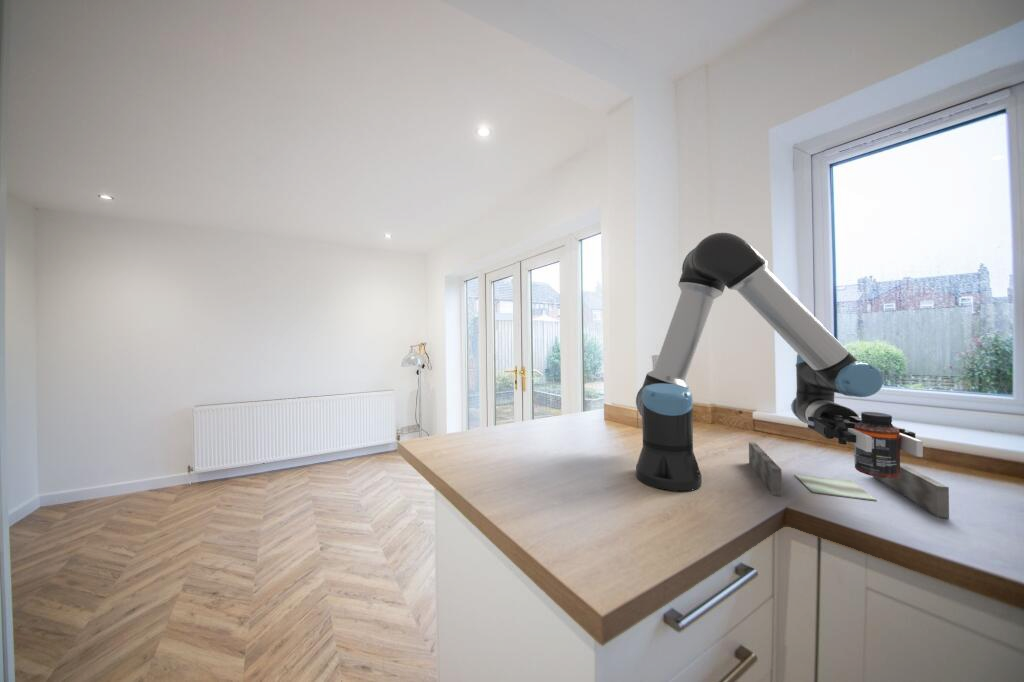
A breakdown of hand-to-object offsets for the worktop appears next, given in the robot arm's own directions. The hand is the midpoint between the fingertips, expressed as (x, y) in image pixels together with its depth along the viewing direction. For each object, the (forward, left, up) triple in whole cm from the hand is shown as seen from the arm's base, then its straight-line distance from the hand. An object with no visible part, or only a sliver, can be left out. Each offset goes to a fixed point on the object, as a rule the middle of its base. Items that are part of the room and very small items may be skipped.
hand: (893, 446), depth 61 cm
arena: (-19, +14, -16) cm, 28 cm away
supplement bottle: (-4, +3, -7) cm, 8 cm away
